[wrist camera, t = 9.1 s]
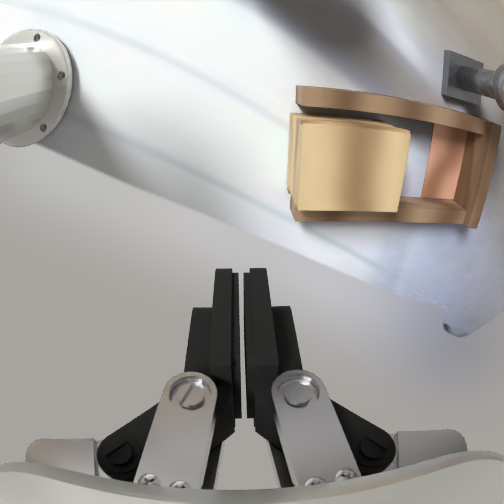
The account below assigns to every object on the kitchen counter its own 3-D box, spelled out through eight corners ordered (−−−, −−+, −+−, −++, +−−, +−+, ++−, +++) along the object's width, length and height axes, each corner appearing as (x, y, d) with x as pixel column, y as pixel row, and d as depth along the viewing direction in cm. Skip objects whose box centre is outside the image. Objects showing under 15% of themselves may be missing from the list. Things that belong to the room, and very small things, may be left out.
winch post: (441, 94, 25) (506, 114, 17) (444, 50, 23) (511, 57, 14) (474, 103, 26) (538, 127, 17) (477, 62, 23) (543, 76, 14)
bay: (290, 207, 32) (296, 226, 29) (296, 85, 25) (305, 88, 22) (458, 212, 33) (476, 228, 30) (479, 117, 26) (501, 126, 23)
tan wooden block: (285, 186, 30) (296, 212, 25) (289, 110, 26) (302, 121, 21) (372, 188, 31) (397, 214, 26) (382, 118, 27) (412, 132, 22)
